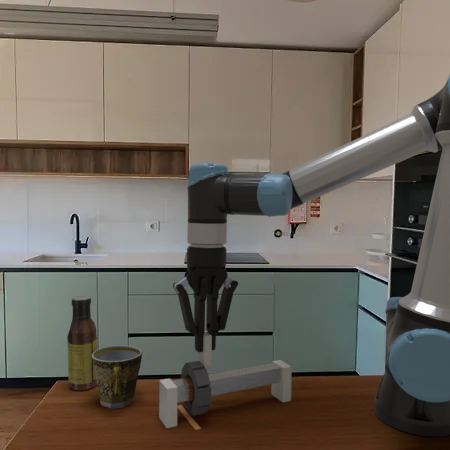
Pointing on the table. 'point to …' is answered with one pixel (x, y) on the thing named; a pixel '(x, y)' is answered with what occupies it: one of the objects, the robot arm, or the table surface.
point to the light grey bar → (232, 381)
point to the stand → (170, 413)
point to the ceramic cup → (117, 374)
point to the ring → (198, 387)
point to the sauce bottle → (81, 345)
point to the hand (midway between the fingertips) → (204, 367)
